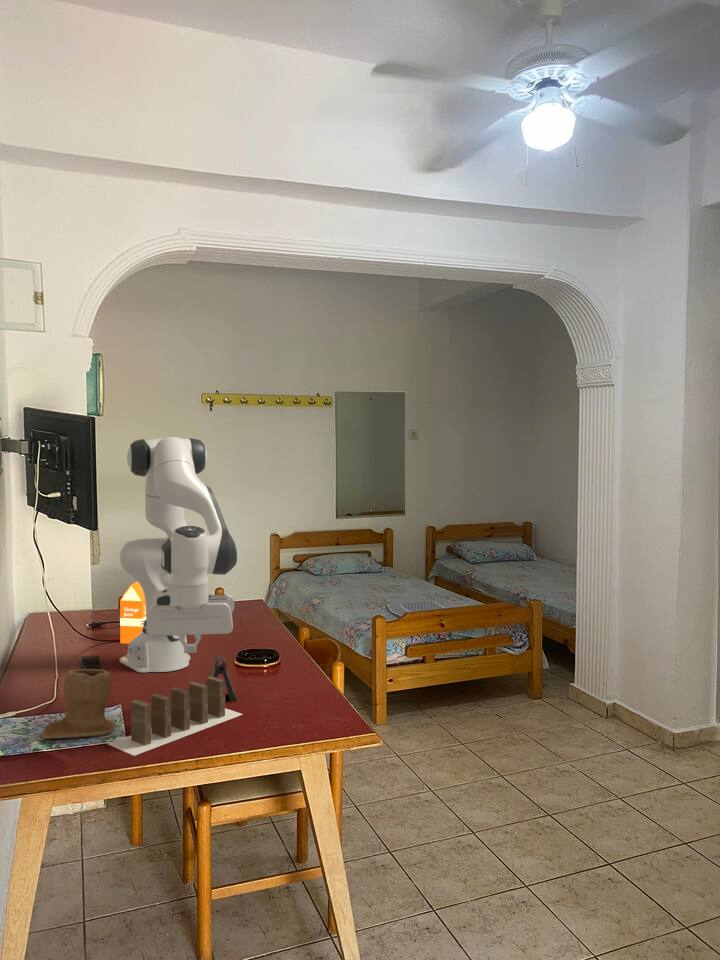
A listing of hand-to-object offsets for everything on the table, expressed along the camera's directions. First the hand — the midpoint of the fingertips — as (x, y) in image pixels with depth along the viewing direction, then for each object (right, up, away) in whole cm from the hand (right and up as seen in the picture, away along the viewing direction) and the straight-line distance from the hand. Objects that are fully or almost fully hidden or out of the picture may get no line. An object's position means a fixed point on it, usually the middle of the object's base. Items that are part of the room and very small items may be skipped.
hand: (190, 652), depth 182 cm
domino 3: (-2, -17, -2) cm, 18 cm away
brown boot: (-25, -19, -4) cm, 31 cm away
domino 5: (+5, -17, +7) cm, 19 cm away
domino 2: (-5, -18, -6) cm, 19 cm away
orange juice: (-36, -14, +78) cm, 87 cm away
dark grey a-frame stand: (+4, -18, +19) cm, 26 cm away
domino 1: (-9, -18, -10) cm, 22 cm away
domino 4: (+1, -17, +3) cm, 17 cm away
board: (-2, -18, -2) cm, 19 cm away
